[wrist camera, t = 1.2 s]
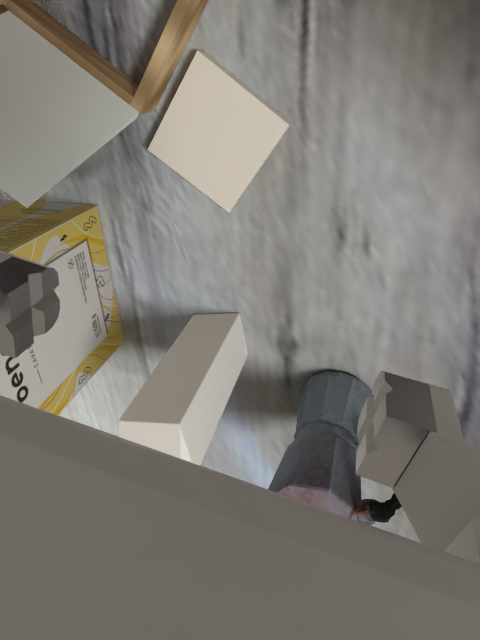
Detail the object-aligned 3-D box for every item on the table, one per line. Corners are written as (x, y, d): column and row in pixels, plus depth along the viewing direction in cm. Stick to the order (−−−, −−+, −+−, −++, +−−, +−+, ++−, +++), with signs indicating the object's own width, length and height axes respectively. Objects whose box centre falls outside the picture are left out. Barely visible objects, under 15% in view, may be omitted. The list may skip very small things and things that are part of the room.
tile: (203, 50, 38) (197, 50, 37) (292, 123, 40) (289, 125, 38) (153, 147, 44) (147, 149, 43) (233, 208, 45) (229, 212, 44)
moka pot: (266, 388, 56) (220, 526, 39) (378, 343, 49) (379, 491, 32) (305, 439, 59) (277, 589, 42) (417, 404, 51) (436, 570, 35)
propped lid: (-4, -1, 38) (-155, -23, 27) (140, 111, 39) (51, 132, 28) (-20, 70, 41) (-159, 76, 30) (112, 170, 43) (24, 209, 32)
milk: (248, 354, 54) (185, 506, 36) (203, 354, 56) (121, 499, 38) (239, 311, 51) (165, 453, 33) (192, 313, 53) (97, 449, 35)
